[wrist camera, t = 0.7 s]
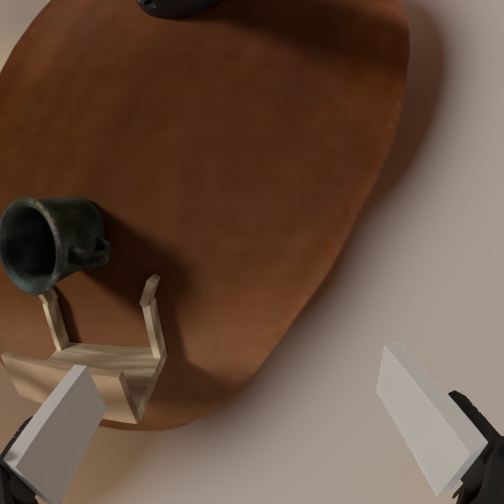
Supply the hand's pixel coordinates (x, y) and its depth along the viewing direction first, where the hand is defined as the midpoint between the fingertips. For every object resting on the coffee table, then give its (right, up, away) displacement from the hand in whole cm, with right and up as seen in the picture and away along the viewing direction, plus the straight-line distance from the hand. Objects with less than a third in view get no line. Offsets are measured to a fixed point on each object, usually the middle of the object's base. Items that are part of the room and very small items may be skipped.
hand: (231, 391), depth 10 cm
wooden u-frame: (-21, -5, +26) cm, 34 cm away
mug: (-22, +8, +24) cm, 34 cm away
